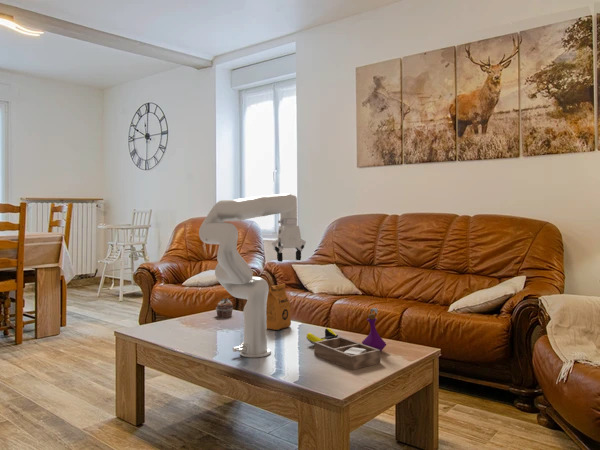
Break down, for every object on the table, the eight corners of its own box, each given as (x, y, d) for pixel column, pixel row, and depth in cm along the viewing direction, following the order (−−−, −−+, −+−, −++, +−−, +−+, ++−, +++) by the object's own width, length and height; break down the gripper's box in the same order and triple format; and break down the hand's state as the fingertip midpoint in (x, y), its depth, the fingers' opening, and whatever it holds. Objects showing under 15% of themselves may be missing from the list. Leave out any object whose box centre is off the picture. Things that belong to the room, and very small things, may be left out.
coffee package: (294, 327, 240) (293, 284, 239) (276, 332, 230) (276, 287, 230) (279, 324, 246) (279, 282, 246) (262, 329, 237) (262, 285, 236)
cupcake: (228, 313, 275) (228, 296, 275) (235, 316, 267) (235, 298, 267) (213, 315, 270) (212, 298, 270) (220, 318, 262) (219, 300, 262)
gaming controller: (304, 345, 207) (320, 350, 200) (304, 332, 207) (320, 337, 199) (328, 339, 217) (344, 343, 210) (328, 327, 217) (344, 330, 210)
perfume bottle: (361, 350, 198) (361, 307, 198) (376, 347, 201) (376, 305, 201) (371, 354, 192) (370, 310, 191) (386, 352, 195) (386, 308, 194)
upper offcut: (357, 361, 177) (357, 354, 177) (343, 358, 180) (343, 352, 180) (366, 355, 184) (366, 349, 184) (352, 353, 187) (352, 347, 187)
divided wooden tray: (351, 370, 173) (351, 356, 173) (314, 354, 193) (314, 342, 193) (380, 363, 181) (380, 350, 181) (341, 348, 201) (341, 336, 201)
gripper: (276, 223, 205) (276, 262, 205) (309, 222, 214) (309, 260, 215) (267, 223, 211) (268, 261, 211) (300, 222, 221) (300, 258, 221)
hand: (289, 260), depth 213 cm, fingers open, 9 cm apart
